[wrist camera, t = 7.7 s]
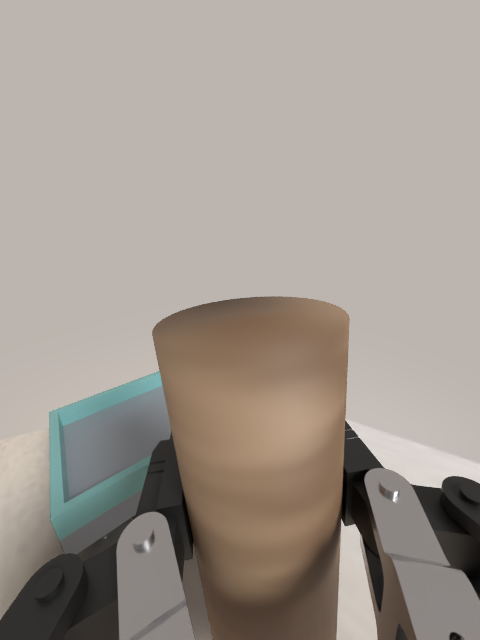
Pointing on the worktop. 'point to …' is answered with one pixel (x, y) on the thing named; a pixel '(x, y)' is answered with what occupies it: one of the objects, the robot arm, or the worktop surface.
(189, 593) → the worktop surface
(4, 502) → the worktop surface
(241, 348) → the cylinder
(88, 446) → the wheeled cart
